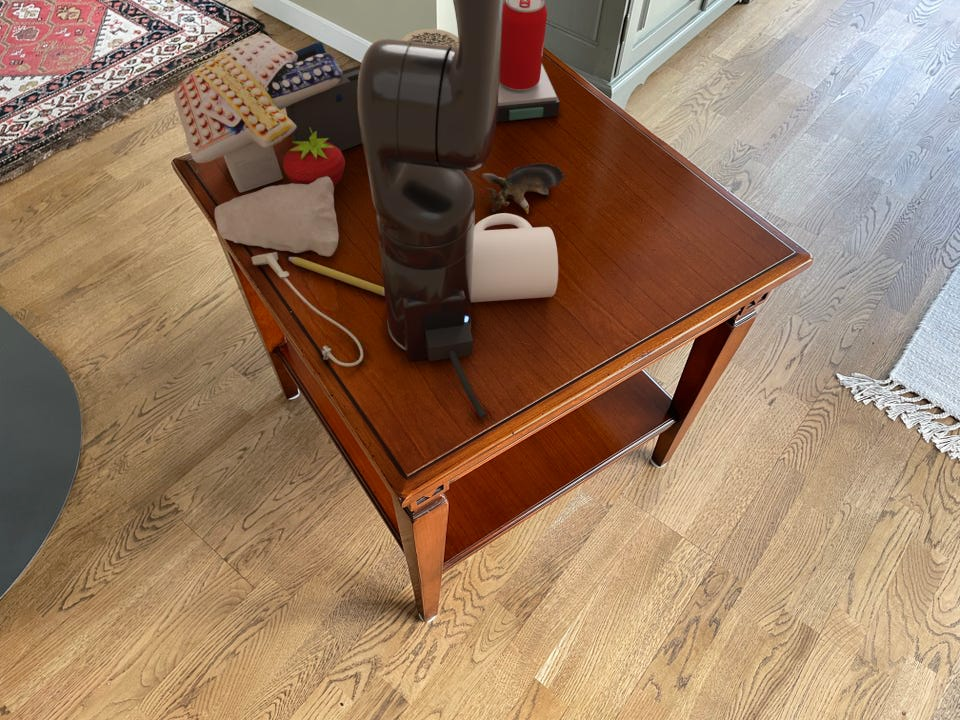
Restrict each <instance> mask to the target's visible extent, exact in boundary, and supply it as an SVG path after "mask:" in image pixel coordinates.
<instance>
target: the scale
mask: <svg viewBox="0 0 960 720" xmlns="http://www.w3.org/2000/svg"><path fill="white" fill-rule="evenodd" d="M560 104H561V102H560V100H559V96H558V95H557V93H556V90H555V88H554V86H553V84H552V81H551V80H550V77H549V75H548V73H547V70H546V68H545V66H544V64H543V63H542V65H541V74H540V81H539V82H538V84H537V85H536V86H534V87H533V88H530V89H528V90H524V91H515V90H511V89H509V88H507V87H505V86H503V85H502V84H501V83H500V82H499V97H498V112H497V122H496V123H504V122H505V123H506V122H515V121H524V120H534V119H536V120H537V119H544V118H553V117H559V110H560Z"/></svg>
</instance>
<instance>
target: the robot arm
mask: <svg viewBox="0 0 960 720" xmlns="http://www.w3.org/2000/svg"><path fill="white" fill-rule="evenodd" d="M452 3H453V8H454V13H455V20H456V27H457V37H458V41H459V47H451V46H445V45H437V44H429V43H420V42H413V41H404V40H402V39H392V38H383V39H378V40H376V41H374V42H373V43H372V44H371V45H370V46H369V47H368V49H367V50H366V51H365V53H364V55H363V57H362V60H361V63H360V65H361V66H360V65H359V66H360V70H359V76H358V85H357V105H358V118H359V126H360V132H361V139H362V144H361V145H362V148H363V149H362V150H363V153H364V158H365V159H364V160H365V162H366V170H367V174H368V175H367V176H368V181H369V188H370V195H371V200H372V204H373V207H374V209H375V217H376V219H375V220H376V228H377V236H378V247H379V255H380V264H381V272H382V273H381V274H382V282H383V287H384V292H385V296H384V301H385V309H386V317H387V319H386V326H387V332H388V336H389V338H390V340H391V342H392V343H393V344H394V345H395V346H396V347H397V349H399V350H400V351H401V352H404V354H405V355H406V357H407V361H408V362H416V361H423V360H428V361H429V362H433V361H439V360H446V359H450V361H451V364H452V366H453V368H454V370H455V373H456V375H457V378H458V380H459V382H460V385H461V386H462V388H463V390H464V392H465V394H466V396H467V398H468V400H469V402H470V404H471V405H472V407H473V408H474V410H475V412H476V414H477V415H478V417H479V419H481V420H482V419H484V418H486V417H487V413H486V412H485V410H484V408H483V406H482V405H481V403H480V401H479V399H478V397H477V396H476V394H475V392H474V389H473V388H472V386H471V384H470V382H469V380H468V378H467V376H466V373H465V371H464V369H463V366H462V364H461V362H460V359H459V357H466V356H472V355H473V353H474V352H473V351H474V339H473V335H472V331H471V329H472V316H471V314H472V312H471V311H472V302H471V288H472V265H473V241H474V226H475V219H476V193H475V189H474V185H473V183H472V181H471V179H470V178H469V176H468V175H467V174H466V173H465V171H477V170H479V169H481V167H483V166H484V165H485V164H486V162H487V160H488V158H489V157H490V154H491V152H492V148H493V144H494V139H495V135H496V129H497V123H498V122H497V112H498V97H499V81H500V59H501V37H502V16H503V4H504V0H452ZM462 170H463V171H462Z"/></svg>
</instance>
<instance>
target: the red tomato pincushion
mask: <svg viewBox="0 0 960 720" xmlns="http://www.w3.org/2000/svg"><path fill="white" fill-rule="evenodd" d="M310 130H311V128H310ZM311 133H312V130H311ZM309 139H310V141H292V140H291V142H292V144H293V143H296V144H297V145H295V146H294V145H293V146H292V147H291V148H289V150H287V151H286V153H285V154H284V155H283V160H282V169H283V171H284V172H285V174H286V176H287V177H288V179H289V180H290V182H291V183H294V184H307V185H308V184H310V183H312V182H314V181H316V180H317V179H318V178H322V177H326V176H327V177H329V178H330V179H331V181H332V182H333V186H334V188H336V186H337V185H338V184H339V182H340V180H341V179H342V177H343V176H344V171H345V167H346V160H345V156H344V154H343V152H342V151H340V149H339V148H337V147H336V146H334V145H332V144H330V143H328V142H325V141H326V140H327V139H329V138H321V139H317V134H316V131H315V132H314V133H312V135H311V136H310V137H309Z"/></svg>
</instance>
